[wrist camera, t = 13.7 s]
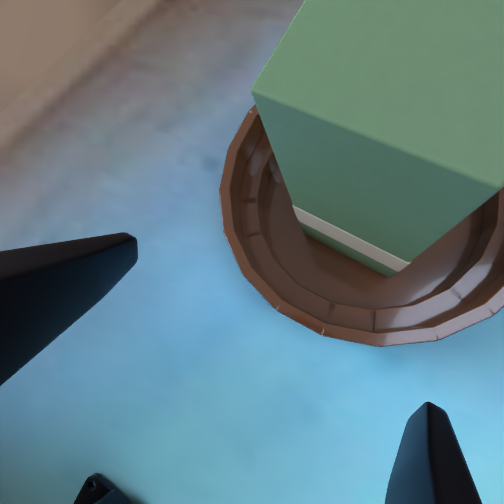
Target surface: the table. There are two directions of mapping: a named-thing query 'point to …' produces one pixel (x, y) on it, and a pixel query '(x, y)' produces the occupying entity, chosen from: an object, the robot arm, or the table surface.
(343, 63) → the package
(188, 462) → the table surface
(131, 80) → the table surface
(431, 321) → the bowl
